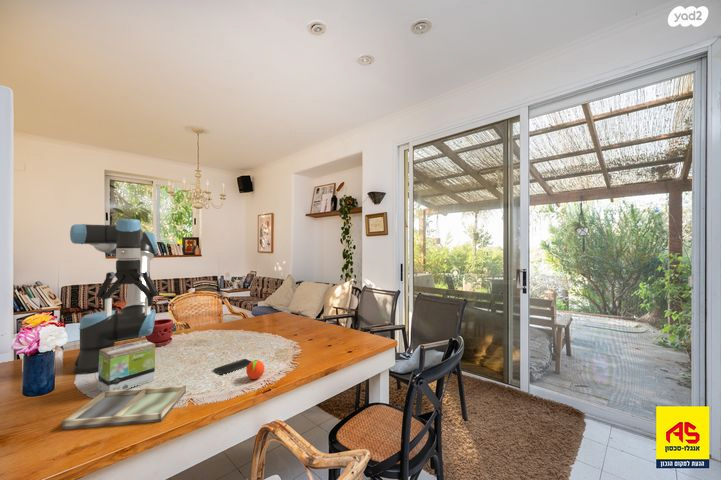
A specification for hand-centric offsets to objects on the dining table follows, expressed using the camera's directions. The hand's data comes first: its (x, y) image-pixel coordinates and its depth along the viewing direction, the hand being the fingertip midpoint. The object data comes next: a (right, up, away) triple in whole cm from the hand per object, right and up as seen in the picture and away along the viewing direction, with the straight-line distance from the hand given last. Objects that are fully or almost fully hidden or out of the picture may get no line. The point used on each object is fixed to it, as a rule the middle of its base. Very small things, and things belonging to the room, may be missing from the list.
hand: (128, 315), depth 119 cm
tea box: (0, -27, 0) cm, 27 cm away
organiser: (+14, -26, -17) cm, 34 cm away
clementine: (+47, -27, +5) cm, 54 cm away
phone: (+34, -27, +16) cm, 46 cm away
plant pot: (-18, -27, +47) cm, 57 cm away
